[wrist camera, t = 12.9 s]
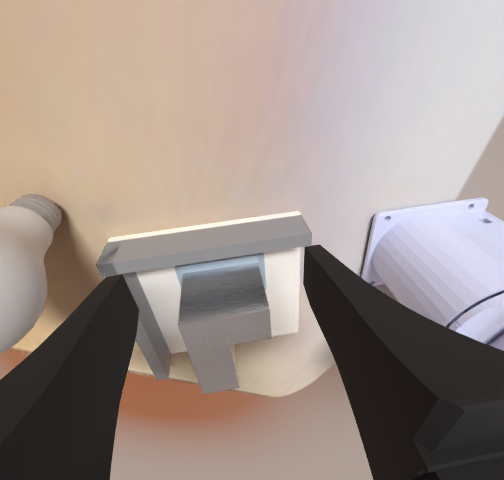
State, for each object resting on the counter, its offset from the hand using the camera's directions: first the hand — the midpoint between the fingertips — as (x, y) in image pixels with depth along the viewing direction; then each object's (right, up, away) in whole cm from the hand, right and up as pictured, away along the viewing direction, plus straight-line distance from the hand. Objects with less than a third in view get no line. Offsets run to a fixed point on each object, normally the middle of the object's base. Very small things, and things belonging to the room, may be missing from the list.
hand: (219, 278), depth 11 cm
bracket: (-1, -4, +13) cm, 14 cm away
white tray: (-1, -3, +13) cm, 14 cm away
